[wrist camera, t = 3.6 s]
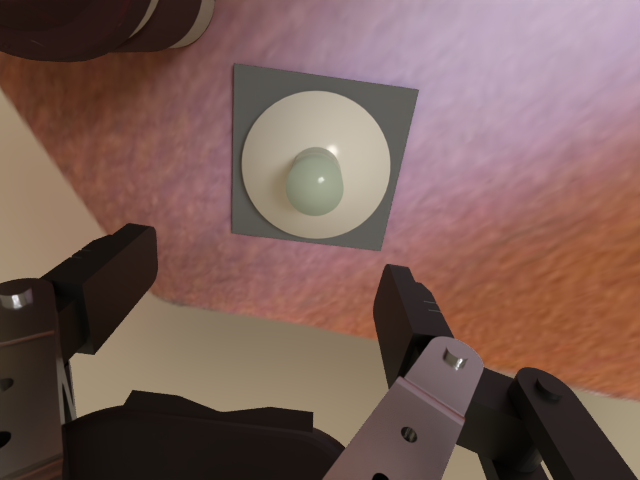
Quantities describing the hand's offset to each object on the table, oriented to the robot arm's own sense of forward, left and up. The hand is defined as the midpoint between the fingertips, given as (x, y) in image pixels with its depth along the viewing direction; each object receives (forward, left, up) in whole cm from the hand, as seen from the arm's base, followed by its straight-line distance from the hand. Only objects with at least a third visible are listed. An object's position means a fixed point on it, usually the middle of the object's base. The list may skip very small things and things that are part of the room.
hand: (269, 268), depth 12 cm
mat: (-1, +1, -18) cm, 18 cm away
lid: (-1, +1, -18) cm, 18 cm away
